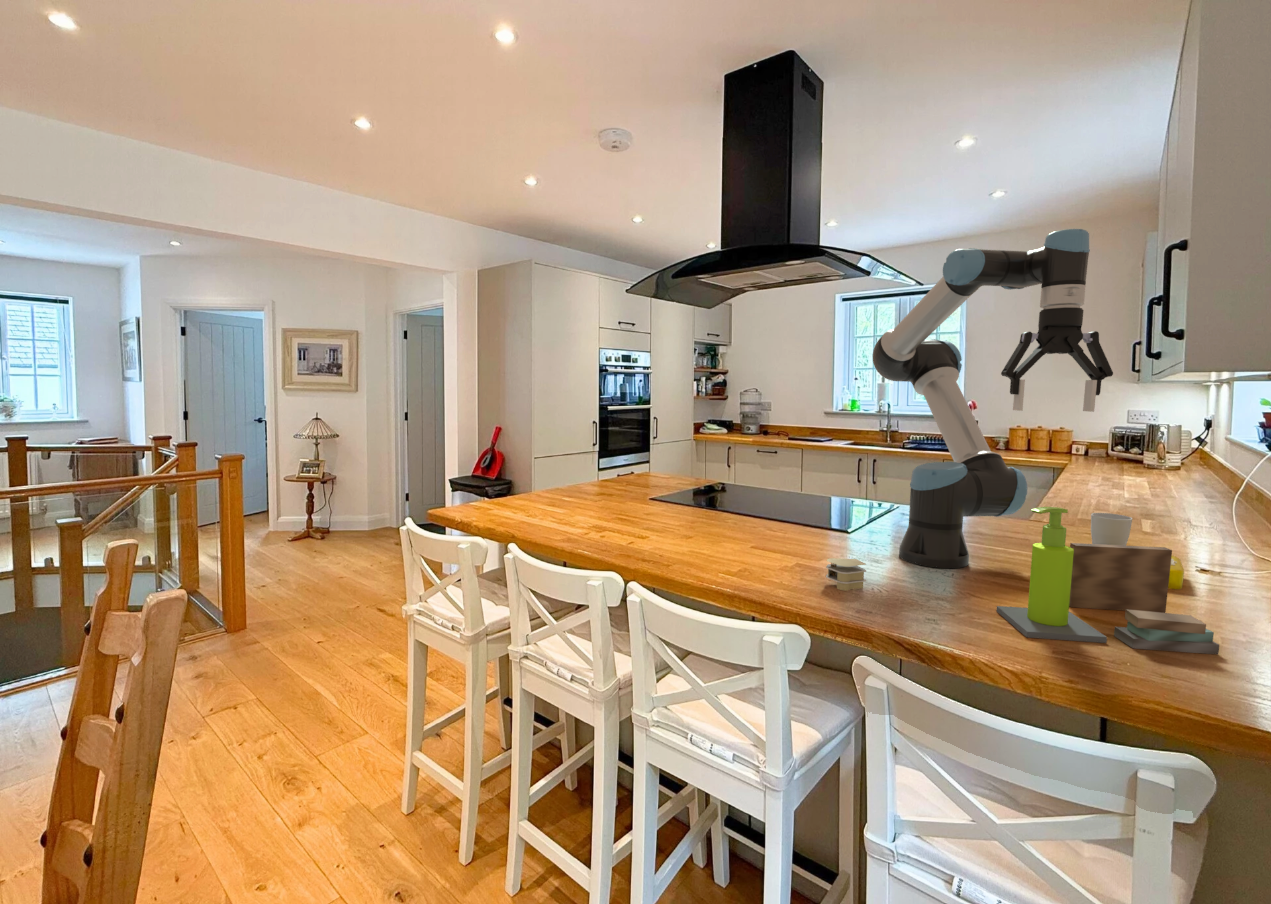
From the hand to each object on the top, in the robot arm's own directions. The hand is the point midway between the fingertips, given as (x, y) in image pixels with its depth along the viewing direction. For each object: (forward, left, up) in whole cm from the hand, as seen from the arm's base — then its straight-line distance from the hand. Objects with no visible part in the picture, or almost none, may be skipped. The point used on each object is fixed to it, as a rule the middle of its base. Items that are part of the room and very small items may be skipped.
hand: (1052, 411), depth 127 cm
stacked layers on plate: (-43, -12, -37) cm, 58 cm away
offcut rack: (+6, -24, -37) cm, 44 cm away
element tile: (+24, +8, -37) cm, 45 cm away
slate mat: (-11, -28, -37) cm, 47 cm away
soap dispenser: (-12, -28, -36) cm, 47 cm away
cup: (+27, +25, -37) cm, 52 cm away
